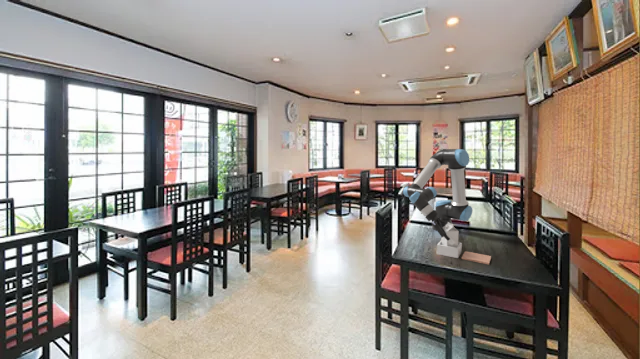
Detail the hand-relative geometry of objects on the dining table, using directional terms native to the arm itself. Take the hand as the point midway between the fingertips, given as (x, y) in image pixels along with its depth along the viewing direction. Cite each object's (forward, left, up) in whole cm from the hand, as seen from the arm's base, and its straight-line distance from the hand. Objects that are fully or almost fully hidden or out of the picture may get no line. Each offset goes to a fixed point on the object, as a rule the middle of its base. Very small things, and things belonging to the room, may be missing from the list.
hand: (455, 241), depth 174 cm
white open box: (0, -3, -8) cm, 9 cm away
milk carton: (0, -3, -8) cm, 9 cm away
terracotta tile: (0, +12, -8) cm, 14 cm away
